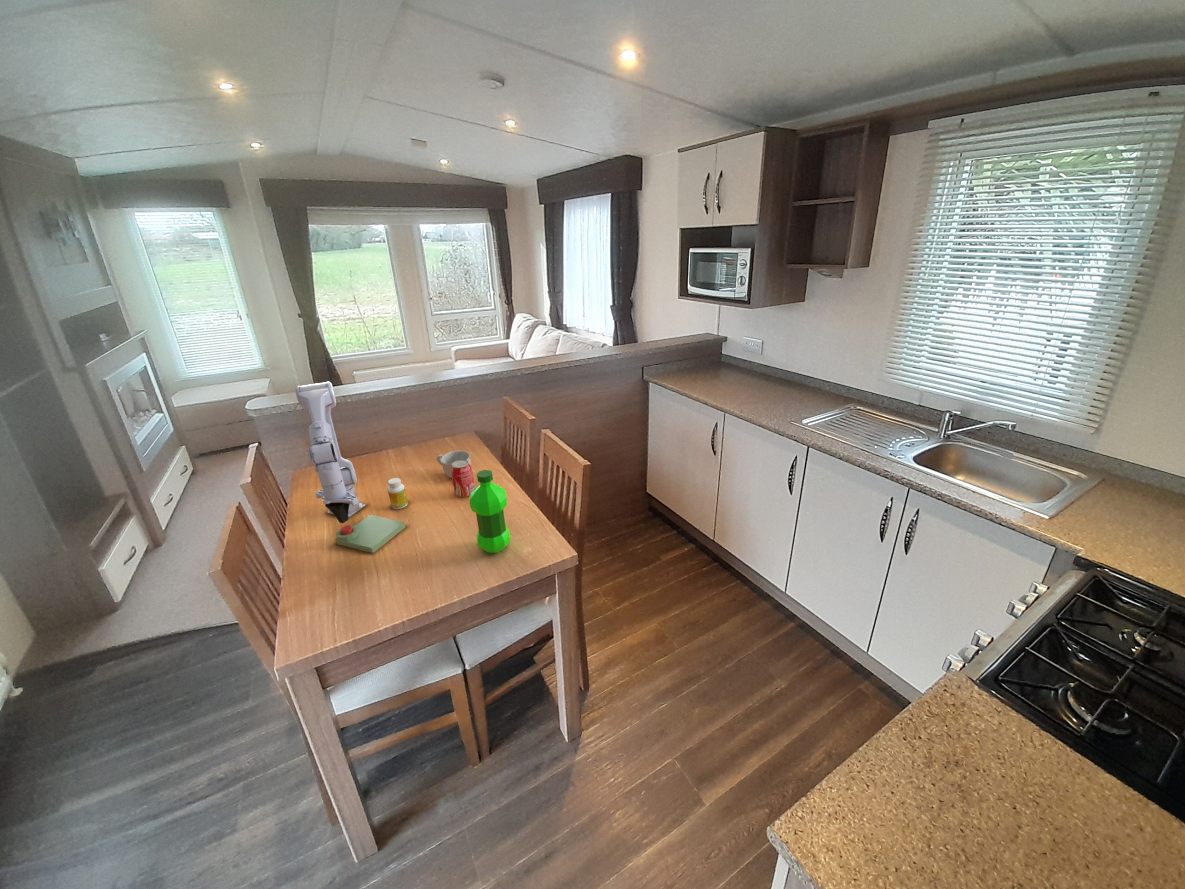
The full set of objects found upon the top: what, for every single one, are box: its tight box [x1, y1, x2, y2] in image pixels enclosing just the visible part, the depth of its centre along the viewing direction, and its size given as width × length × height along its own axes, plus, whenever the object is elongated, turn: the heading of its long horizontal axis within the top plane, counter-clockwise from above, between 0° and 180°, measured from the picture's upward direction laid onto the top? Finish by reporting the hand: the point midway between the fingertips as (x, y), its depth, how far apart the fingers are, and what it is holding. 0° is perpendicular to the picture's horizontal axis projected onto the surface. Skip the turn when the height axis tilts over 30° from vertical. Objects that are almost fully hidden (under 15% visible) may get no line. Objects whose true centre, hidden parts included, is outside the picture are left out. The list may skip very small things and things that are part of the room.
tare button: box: [340, 525, 353, 535], centre depth 144 cm, size 3×3×2 cm
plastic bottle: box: [468, 469, 511, 554], centre depth 135 cm, size 10×10×25 cm
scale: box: [335, 514, 406, 554], centre depth 147 cm, size 14×14×4 cm
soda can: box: [451, 460, 475, 498], centre depth 167 cm, size 7×7×12 cm
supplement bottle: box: [387, 477, 409, 510], centre depth 162 cm, size 5×5×10 cm
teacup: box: [436, 450, 472, 479], centre depth 182 cm, size 14×11×8 cm
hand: (343, 521), depth 143 cm, fingers closed
